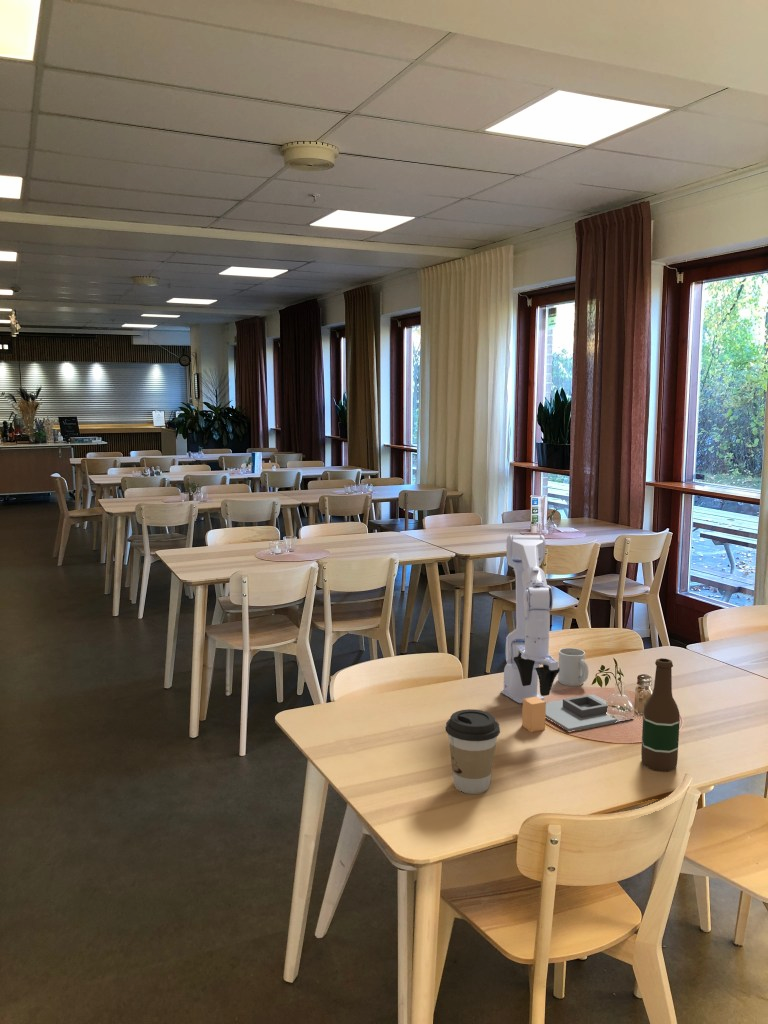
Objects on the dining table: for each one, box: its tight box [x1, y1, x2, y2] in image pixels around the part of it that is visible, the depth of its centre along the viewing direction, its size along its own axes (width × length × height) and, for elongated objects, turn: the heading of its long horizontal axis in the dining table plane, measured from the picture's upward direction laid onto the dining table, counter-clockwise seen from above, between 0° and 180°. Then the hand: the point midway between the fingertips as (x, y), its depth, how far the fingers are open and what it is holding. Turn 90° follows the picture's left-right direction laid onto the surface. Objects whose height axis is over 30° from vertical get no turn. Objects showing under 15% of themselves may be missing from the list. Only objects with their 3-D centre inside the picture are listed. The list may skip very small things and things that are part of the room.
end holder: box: [545, 693, 635, 732], centre depth 208 cm, size 16×20×3 cm
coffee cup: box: [445, 708, 501, 795], centre depth 169 cm, size 11×11×15 cm
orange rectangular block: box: [521, 696, 547, 733], centre depth 199 cm, size 4×4×7 cm
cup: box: [557, 647, 589, 687], centre depth 229 cm, size 7×10×9 cm
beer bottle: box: [640, 657, 681, 773], centre depth 178 cm, size 8×8×24 cm
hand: (535, 690), depth 198 cm, fingers open, 7 cm apart
